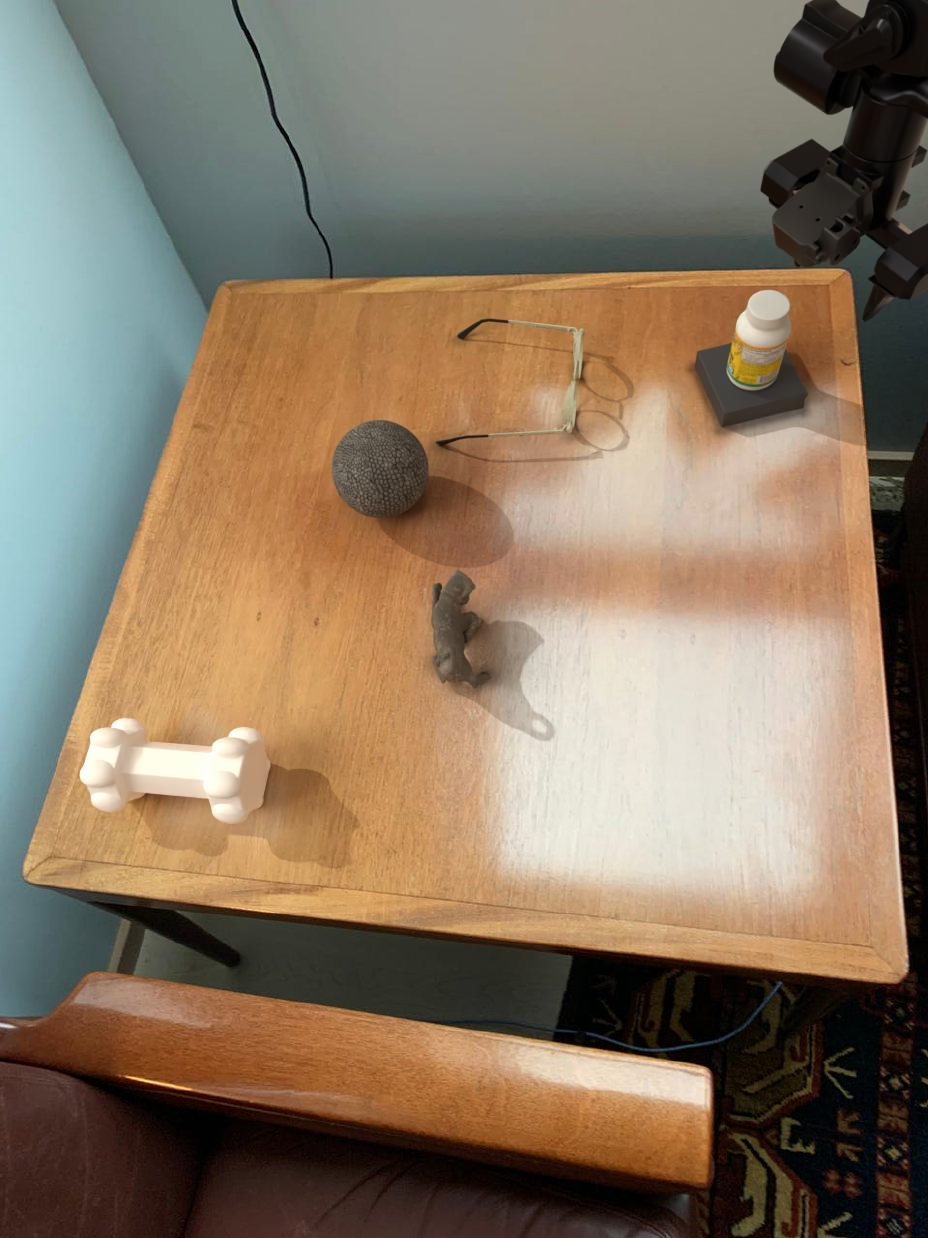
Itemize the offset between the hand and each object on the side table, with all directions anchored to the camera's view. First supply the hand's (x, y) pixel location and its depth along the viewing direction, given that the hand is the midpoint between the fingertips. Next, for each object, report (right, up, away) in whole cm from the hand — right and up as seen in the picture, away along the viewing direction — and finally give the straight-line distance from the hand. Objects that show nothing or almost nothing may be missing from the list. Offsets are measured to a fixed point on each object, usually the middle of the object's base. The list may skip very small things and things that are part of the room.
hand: (832, 290), depth 83 cm
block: (-4, -6, +12) cm, 14 cm away
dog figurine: (-36, -34, +3) cm, 49 cm away
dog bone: (-61, -47, -1) cm, 77 cm away
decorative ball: (-44, -18, +11) cm, 49 cm away
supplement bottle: (-5, -5, +10) cm, 12 cm away
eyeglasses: (-30, -6, +15) cm, 34 cm away
